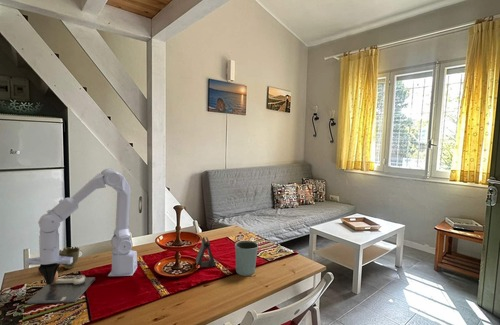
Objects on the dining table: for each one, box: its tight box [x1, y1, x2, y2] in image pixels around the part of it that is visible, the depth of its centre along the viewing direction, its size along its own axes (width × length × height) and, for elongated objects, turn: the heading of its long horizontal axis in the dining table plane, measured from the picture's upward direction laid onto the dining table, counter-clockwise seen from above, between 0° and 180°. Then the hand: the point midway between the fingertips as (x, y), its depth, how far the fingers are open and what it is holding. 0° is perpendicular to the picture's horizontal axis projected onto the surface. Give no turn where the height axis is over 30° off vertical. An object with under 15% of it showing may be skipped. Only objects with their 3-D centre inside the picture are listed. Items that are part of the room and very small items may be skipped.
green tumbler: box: [234, 240, 259, 276], centre depth 117 cm, size 10×10×12 cm
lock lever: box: [52, 270, 86, 285], centre depth 100 cm, size 4×12×4 cm, turn 96°
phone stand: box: [195, 236, 217, 269], centre depth 122 cm, size 9×6×12 cm, turn 107°
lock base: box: [26, 276, 96, 305], centre depth 97 cm, size 16×16×1 cm
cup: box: [59, 246, 80, 270], centre depth 114 cm, size 8×7×8 cm
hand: (50, 283), depth 97 cm, fingers closed
